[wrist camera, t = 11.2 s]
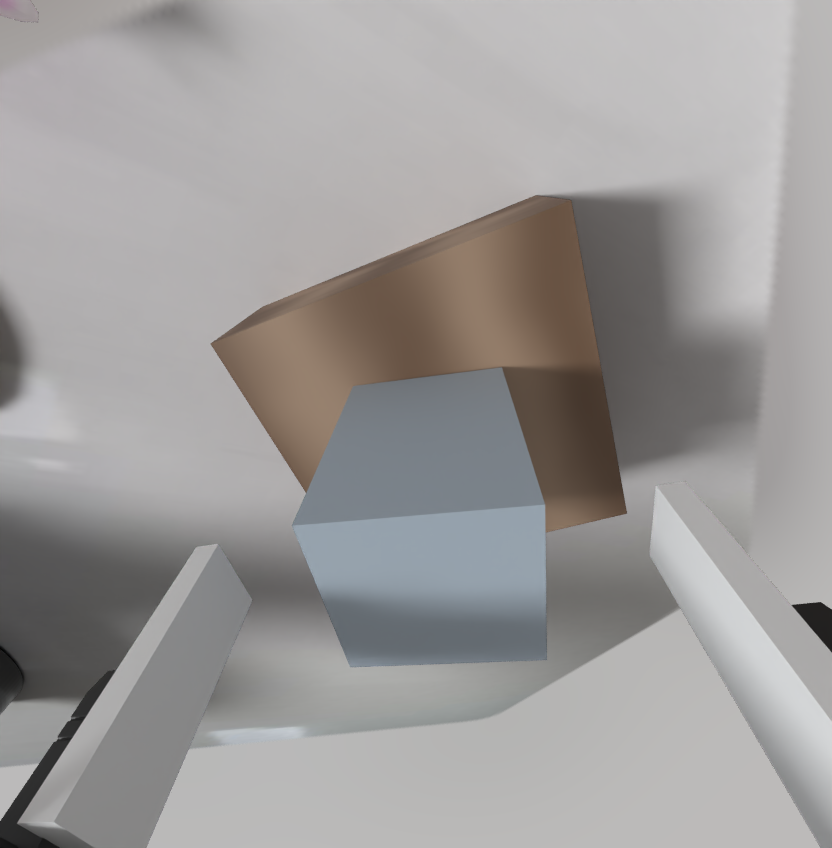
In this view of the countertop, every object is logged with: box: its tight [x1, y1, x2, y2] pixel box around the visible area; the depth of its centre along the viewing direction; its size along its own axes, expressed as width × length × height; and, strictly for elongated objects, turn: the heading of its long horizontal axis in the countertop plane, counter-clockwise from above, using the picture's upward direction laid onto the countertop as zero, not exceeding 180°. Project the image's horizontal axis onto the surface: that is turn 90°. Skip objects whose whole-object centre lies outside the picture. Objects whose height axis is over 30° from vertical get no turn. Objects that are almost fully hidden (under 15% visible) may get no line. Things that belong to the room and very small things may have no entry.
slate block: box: [292, 367, 547, 667], centre depth 15 cm, size 6×6×8 cm
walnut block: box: [211, 195, 627, 532], centre depth 21 cm, size 14×14×6 cm
